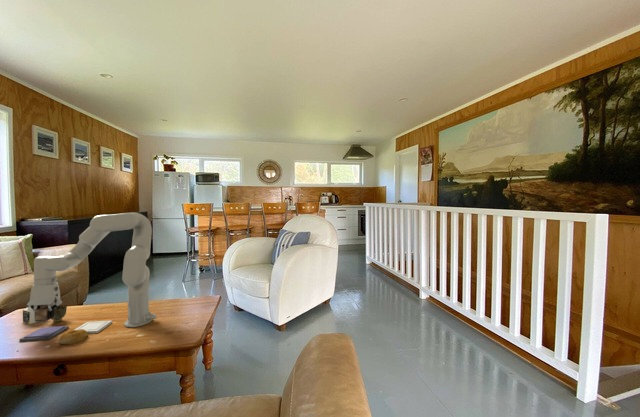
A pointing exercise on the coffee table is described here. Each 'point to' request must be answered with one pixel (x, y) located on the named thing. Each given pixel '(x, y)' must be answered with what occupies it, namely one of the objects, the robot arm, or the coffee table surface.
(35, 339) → the ink pad
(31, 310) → the medicine bottle
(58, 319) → the cup
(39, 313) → the stamp
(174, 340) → the coffee table surface
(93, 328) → the board
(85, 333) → the bagel
